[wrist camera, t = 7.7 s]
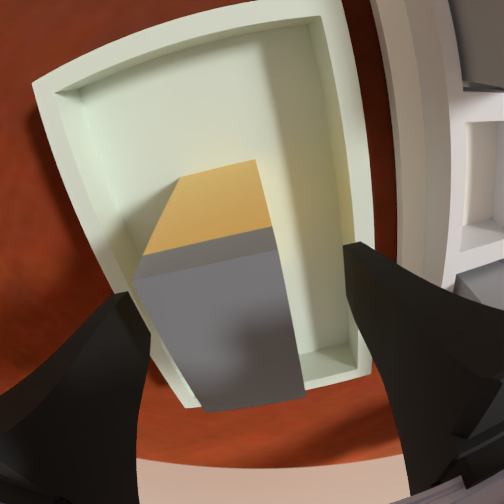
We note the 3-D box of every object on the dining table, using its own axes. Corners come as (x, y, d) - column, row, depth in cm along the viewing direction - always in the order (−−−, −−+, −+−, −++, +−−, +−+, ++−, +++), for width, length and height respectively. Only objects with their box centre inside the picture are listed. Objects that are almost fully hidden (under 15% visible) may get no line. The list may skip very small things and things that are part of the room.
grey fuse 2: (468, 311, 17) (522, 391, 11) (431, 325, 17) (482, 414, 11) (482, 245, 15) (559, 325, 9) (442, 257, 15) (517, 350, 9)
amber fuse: (278, 266, 15) (306, 397, 9) (214, 280, 15) (205, 412, 9) (255, 158, 12) (277, 249, 6) (180, 177, 12) (131, 280, 6)
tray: (358, 342, 18) (370, 373, 16) (188, 375, 19) (185, 408, 17) (319, 6, 10) (338, -8, 7) (63, 79, 10) (31, 83, 8)
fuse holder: (484, 317, 18) (502, 341, 16) (390, 351, 19) (403, 381, 17) (486, -40, 7) (518, -47, 5) (348, -67, 8) (371, -89, 5)
